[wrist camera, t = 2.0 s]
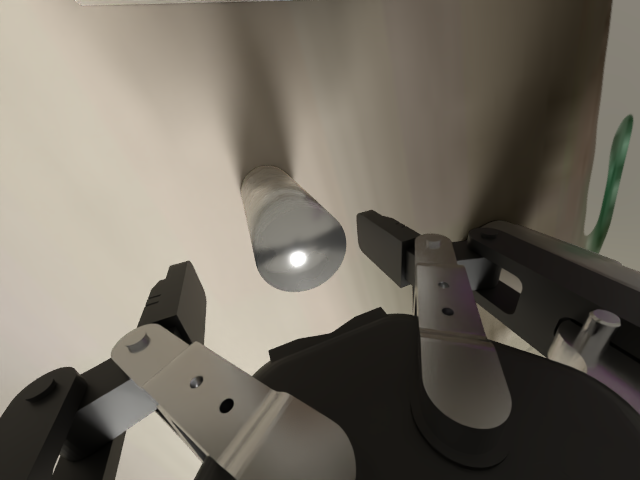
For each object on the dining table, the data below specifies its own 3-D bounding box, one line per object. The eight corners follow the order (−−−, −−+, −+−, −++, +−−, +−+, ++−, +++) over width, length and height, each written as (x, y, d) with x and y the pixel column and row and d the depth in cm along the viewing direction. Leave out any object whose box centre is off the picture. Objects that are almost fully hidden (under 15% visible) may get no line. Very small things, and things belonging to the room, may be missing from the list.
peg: (289, 161, 19) (343, 198, 10) (297, 211, 21) (348, 277, 12) (234, 170, 18) (244, 221, 9) (248, 222, 20) (266, 302, 11)
